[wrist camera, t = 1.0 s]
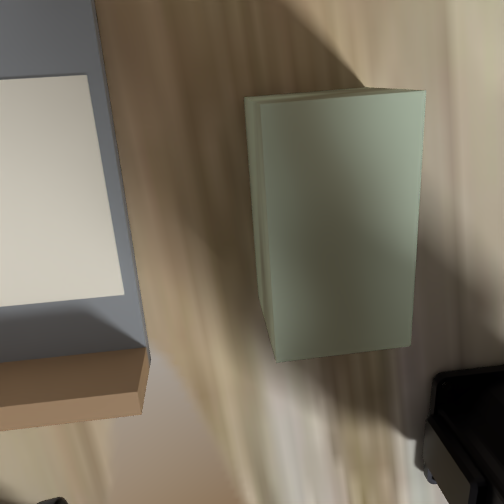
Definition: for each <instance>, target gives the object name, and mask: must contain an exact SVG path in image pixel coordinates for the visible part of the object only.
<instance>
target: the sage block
mask: <svg viewBox="0 0 504 504" xmlns="http://www.w3.org/2000/svg"><path fill="white" fill-rule="evenodd" d="M425 102H426V91H425V90H406V89H387V88H368V87H364V88H351V89H339V90H326V91H314V92H301V93H289V94H276V95H264V96H251V97H244V109H245V122H246V136H247V149H248V163H249V176H250V190H251V203H252V216H253V230H254V243H255V257H256V270H257V284H258V297H259V301H260V304H261V308H262V312H263V315H264V319H265V323H266V327H267V330H268V334H269V338H270V341H271V345H272V349H273V352H274V356H275V360H276V363H278V362H286V361H295V360H303V359H311V358H319V357H327V356H335V355H343V354H351V353H359V352H368V351H376V350H384V349H392V348H400V347H408V346H411V334H412V318H413V301H414V285H415V268H416V251H417V235H418V218H419V202H420V185H421V169H422V152H423V136H424V119H425Z"/></svg>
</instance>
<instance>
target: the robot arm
mask: <svg viewBox="0 0 504 504" xmlns="http://www.w3.org/2000/svg"><path fill="white" fill-rule="evenodd" d="M445 382H447V383H446V384H445V385H442V384H443V383H445ZM422 458H423V460H424V462H425V463H424V475H425V477H426V479H427V480H428V482H429V483H431V484H438V486H439V488H440V489H441V491H442V493H443V494H444V496H445V498H446V499H447V501H448V503H449V504H504V365H500V366H491V367H483V368H474V369H466V370H457V371H448V372H442V373H439V374H438V375H436V376H435V377H434V379H433V382H432V391H431V401H430V412H429V415H428V417H427V419H426V424H425V435H424V445H423V456H422ZM37 504H68V503H67V501H66V500H65V499H64V498H63V497H57V498H52V499H48V500H44V501H41V502H39V503H37Z"/></svg>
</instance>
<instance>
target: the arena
mask: <svg viewBox="0 0 504 504" xmlns="http://www.w3.org/2000/svg"><path fill="white" fill-rule="evenodd" d="M150 362H151V357H150V351H149V344H148V338H147V332H146V325H145V319H144V313H143V306H142V300H141V294H140V287H139V281H138V275H137V268H136V262H135V256H134V249H133V243H132V237H131V230H130V224H129V218H128V212H127V205H126V199H125V193H124V186H123V180H122V174H121V167H120V161H119V155H118V148H117V142H116V136H115V129H114V123H113V117H112V110H111V104H110V98H109V91H108V85H107V79H106V72H105V66H104V60H103V53H102V47H101V41H100V34H99V28H98V22H97V16H96V9H95V3H94V0H0V431H6V430H15V429H23V428H32V427H40V426H49V425H57V424H66V423H74V422H83V421H91V420H100V419H108V418H117V417H125V416H134V415H141V414H142V409H143V403H144V397H145V391H146V385H147V380H148V374H149V368H150Z"/></svg>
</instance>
